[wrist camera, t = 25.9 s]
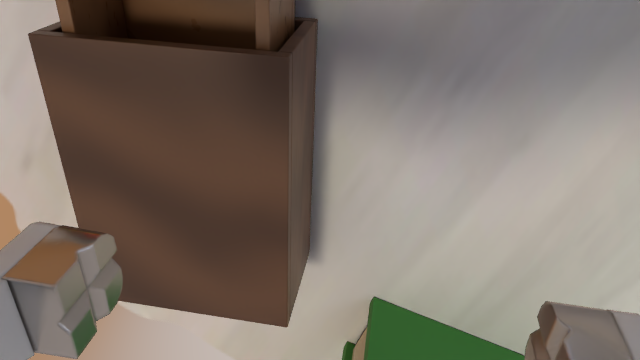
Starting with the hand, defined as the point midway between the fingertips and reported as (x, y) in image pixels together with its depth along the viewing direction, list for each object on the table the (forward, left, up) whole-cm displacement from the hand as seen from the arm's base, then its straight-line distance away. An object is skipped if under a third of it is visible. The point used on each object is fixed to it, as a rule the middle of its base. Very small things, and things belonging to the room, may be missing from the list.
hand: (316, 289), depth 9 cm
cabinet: (+11, -12, -26) cm, 30 cm away
